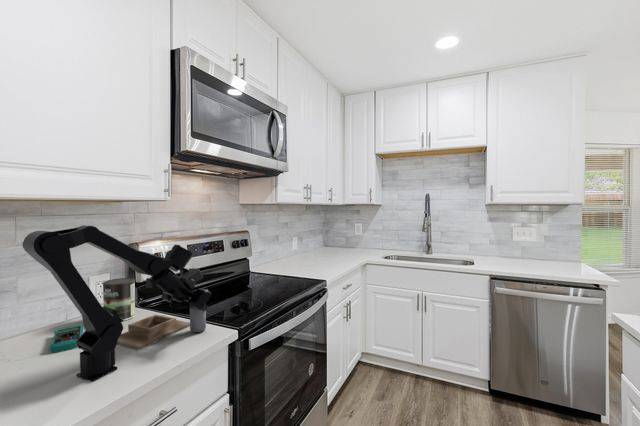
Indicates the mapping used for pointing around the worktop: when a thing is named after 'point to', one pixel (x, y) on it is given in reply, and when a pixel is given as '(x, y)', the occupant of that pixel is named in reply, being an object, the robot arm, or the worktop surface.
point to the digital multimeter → (66, 339)
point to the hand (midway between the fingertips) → (201, 308)
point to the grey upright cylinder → (197, 320)
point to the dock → (150, 331)
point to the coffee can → (120, 296)
